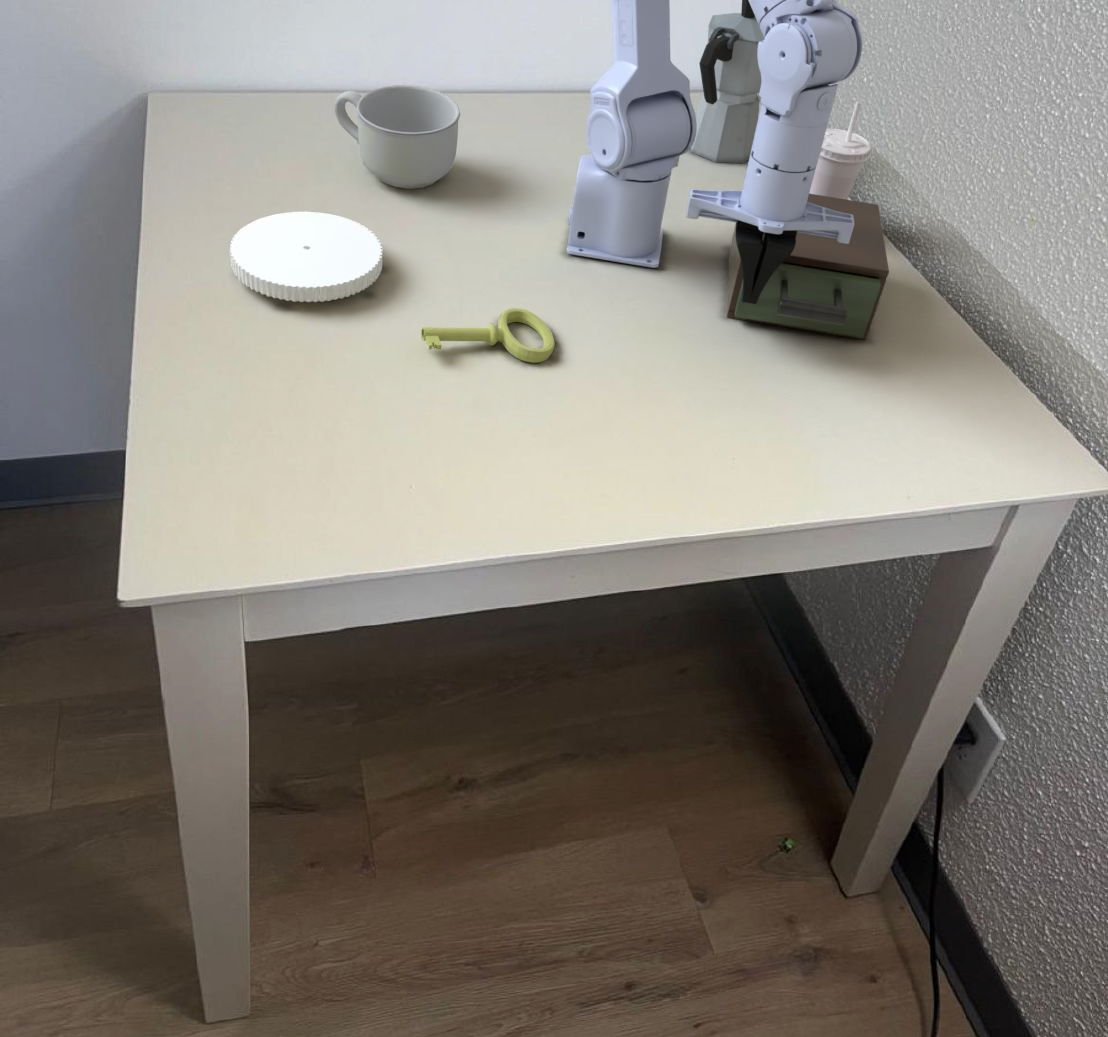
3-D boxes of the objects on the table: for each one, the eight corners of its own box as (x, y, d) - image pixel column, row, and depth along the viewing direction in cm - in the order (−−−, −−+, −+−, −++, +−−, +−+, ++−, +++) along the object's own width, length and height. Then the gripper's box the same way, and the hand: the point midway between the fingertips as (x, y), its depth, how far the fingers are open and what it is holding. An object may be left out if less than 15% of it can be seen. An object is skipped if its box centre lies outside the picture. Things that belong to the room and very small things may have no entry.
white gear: (221, 240, 114) (219, 216, 112) (363, 229, 118) (363, 206, 116) (244, 318, 104) (242, 294, 103) (397, 303, 109) (398, 280, 107)
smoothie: (846, 242, 127) (884, 118, 118) (788, 231, 128) (821, 107, 119) (847, 216, 132) (884, 95, 123) (791, 205, 133) (823, 84, 123)
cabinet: (865, 340, 113) (889, 271, 108) (726, 317, 113) (743, 247, 108) (857, 270, 123) (878, 204, 118) (729, 249, 123) (745, 182, 118)
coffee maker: (715, 120, 148) (746, -29, 136) (775, 144, 145) (813, -7, 133) (652, 155, 138) (679, -2, 126) (716, 182, 135) (750, 23, 123)
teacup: (475, 176, 130) (480, 106, 124) (415, 210, 122) (417, 137, 117) (376, 136, 134) (377, 67, 129) (313, 167, 127) (310, 95, 122)
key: (413, 347, 104) (414, 326, 102) (526, 314, 110) (529, 295, 108) (456, 390, 100) (458, 369, 98) (571, 354, 106) (574, 334, 104)
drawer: (866, 367, 108) (885, 313, 104) (733, 345, 108) (747, 291, 104) (855, 273, 121) (871, 222, 117) (736, 253, 121) (748, 202, 117)
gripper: (697, 163, 97) (669, 306, 106) (871, 191, 96) (828, 332, 105) (701, 131, 102) (674, 269, 111) (865, 157, 102) (825, 294, 111)
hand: (749, 298), depth 109 cm, fingers closed, pressing on drawer
